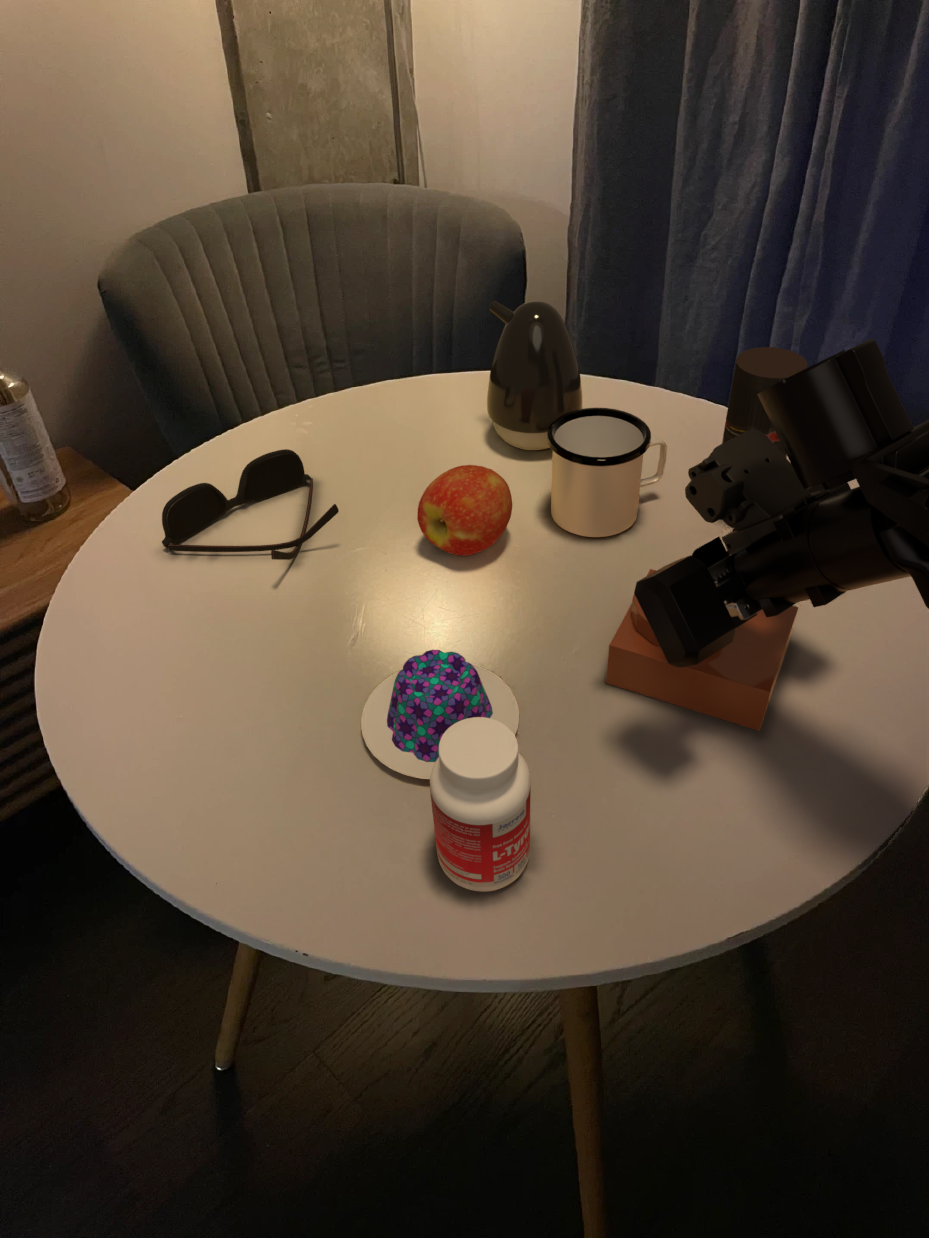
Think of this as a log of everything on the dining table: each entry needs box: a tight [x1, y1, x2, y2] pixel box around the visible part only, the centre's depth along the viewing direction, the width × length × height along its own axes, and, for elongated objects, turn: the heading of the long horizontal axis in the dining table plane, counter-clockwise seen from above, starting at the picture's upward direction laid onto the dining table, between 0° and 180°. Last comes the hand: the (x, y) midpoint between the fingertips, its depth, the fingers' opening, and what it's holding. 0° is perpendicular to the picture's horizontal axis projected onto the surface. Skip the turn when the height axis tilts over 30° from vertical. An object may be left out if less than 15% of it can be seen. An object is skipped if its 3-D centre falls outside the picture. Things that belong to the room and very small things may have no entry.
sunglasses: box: [161, 448, 340, 561], centre depth 84 cm, size 17×14×5 cm
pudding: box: [360, 649, 520, 780], centre depth 66 cm, size 12×12×5 cm
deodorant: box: [721, 346, 809, 459], centre depth 82 cm, size 6×6×15 cm
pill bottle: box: [429, 717, 532, 892], centre depth 55 cm, size 6×6×11 cm
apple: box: [416, 464, 513, 556], centre depth 82 cm, size 8×8×8 cm
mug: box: [547, 407, 668, 538], centre depth 84 cm, size 12×9×9 cm
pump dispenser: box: [486, 300, 583, 451], centre depth 93 cm, size 10×10×15 cm
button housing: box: [605, 568, 799, 731], centre depth 69 cm, size 12×10×6 cm
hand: (683, 589), depth 67 cm, fingers closed, pressing on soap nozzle
